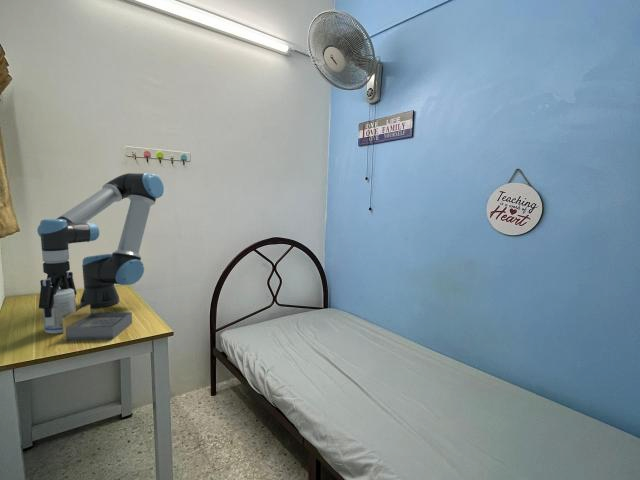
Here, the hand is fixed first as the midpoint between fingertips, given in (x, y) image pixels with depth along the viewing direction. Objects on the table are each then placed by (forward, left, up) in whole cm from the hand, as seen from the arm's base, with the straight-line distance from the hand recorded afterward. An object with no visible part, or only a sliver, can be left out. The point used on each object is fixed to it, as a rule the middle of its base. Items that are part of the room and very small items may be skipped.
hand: (60, 320), depth 119 cm
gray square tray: (+3, +16, -4) cm, 16 cm away
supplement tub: (0, 0, -4) cm, 4 cm away
